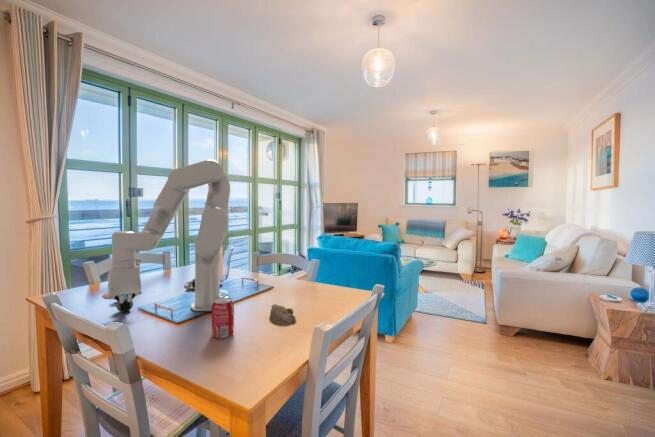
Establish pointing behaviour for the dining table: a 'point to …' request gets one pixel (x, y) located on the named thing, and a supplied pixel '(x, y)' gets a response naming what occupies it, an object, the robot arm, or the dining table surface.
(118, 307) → the grey rounded lump
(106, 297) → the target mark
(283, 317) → the oyster shell
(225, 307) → the soda can
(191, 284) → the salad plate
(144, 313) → the dining table surface
